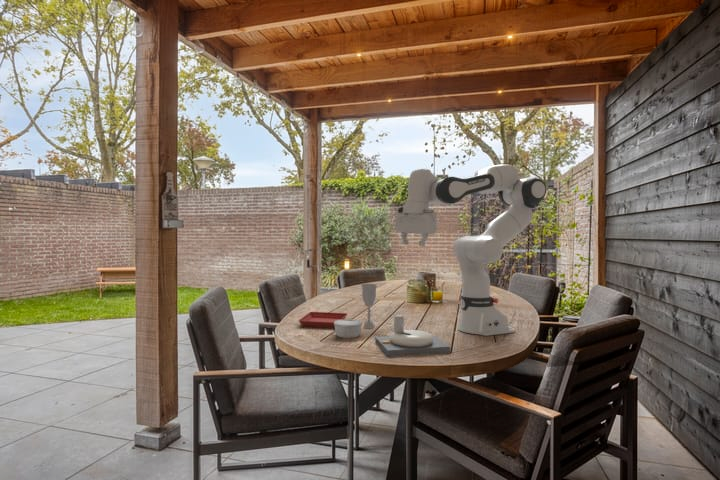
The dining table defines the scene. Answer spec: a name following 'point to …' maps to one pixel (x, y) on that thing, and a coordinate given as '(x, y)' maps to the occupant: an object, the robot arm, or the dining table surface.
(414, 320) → the dining table surface
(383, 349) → the dial board
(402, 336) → the dial
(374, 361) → the dining table surface
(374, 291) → the chalice
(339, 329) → the ramekin
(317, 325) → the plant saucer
